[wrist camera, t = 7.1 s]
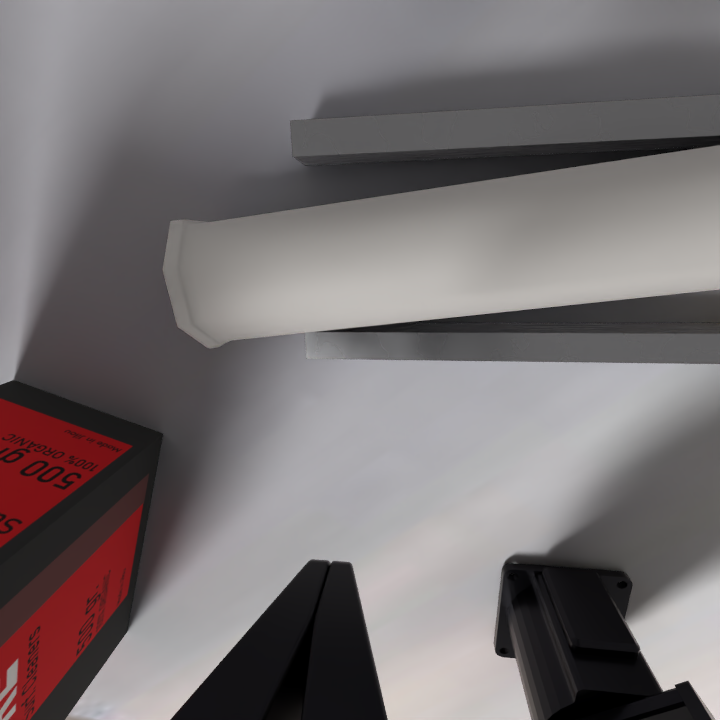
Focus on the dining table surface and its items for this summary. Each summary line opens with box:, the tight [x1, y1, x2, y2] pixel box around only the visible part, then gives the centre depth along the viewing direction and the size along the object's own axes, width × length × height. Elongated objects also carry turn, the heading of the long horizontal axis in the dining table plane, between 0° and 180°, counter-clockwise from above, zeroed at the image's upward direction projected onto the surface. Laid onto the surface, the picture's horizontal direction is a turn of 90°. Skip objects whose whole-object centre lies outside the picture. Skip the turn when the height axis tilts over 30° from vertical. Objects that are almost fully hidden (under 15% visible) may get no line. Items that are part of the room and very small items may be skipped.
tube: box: [162, 145, 720, 349], centre depth 15 cm, size 5×5×25 cm
